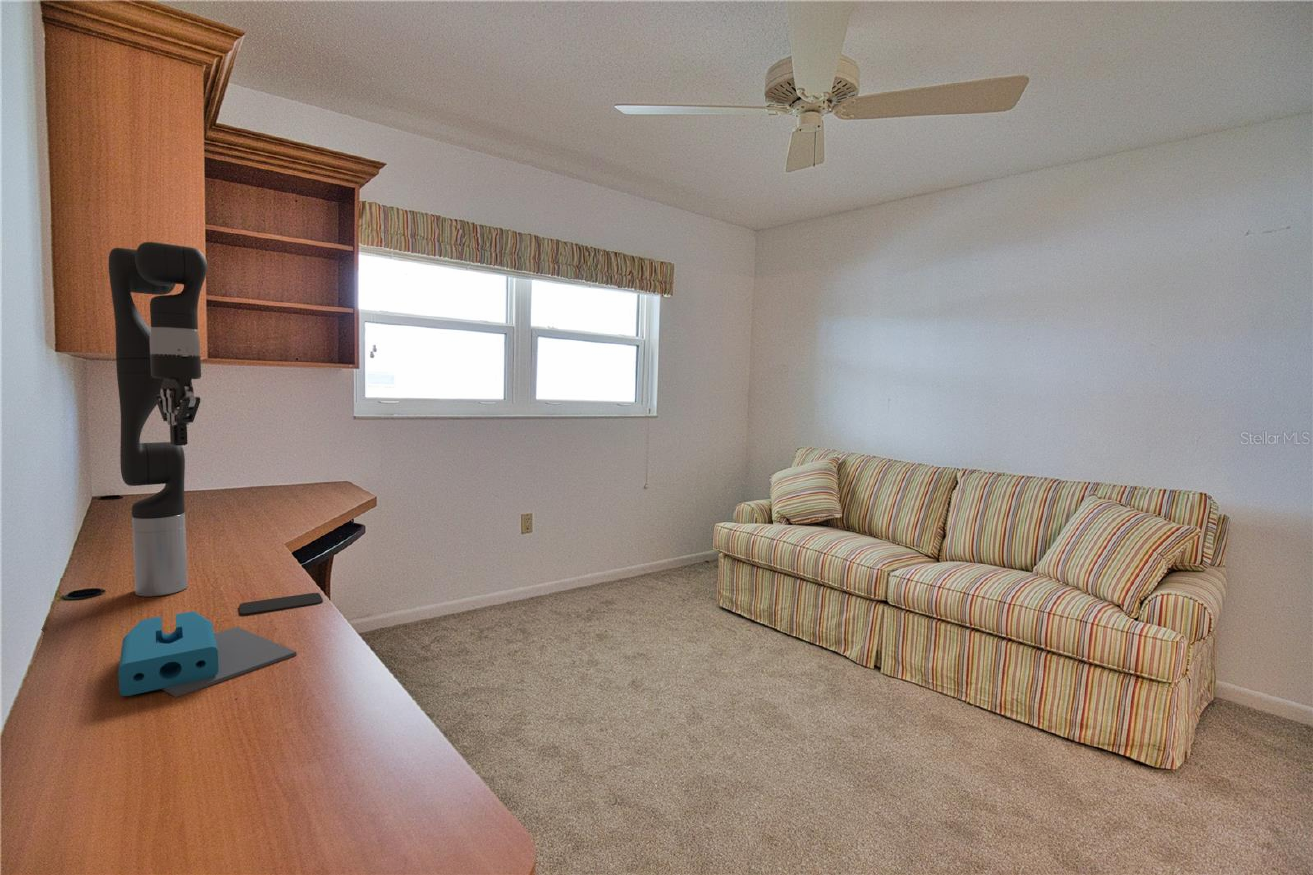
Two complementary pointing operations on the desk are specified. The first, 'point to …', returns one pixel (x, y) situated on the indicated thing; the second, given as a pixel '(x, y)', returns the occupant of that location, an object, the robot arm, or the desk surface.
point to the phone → (279, 604)
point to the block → (167, 654)
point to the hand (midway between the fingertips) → (179, 445)
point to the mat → (237, 658)
